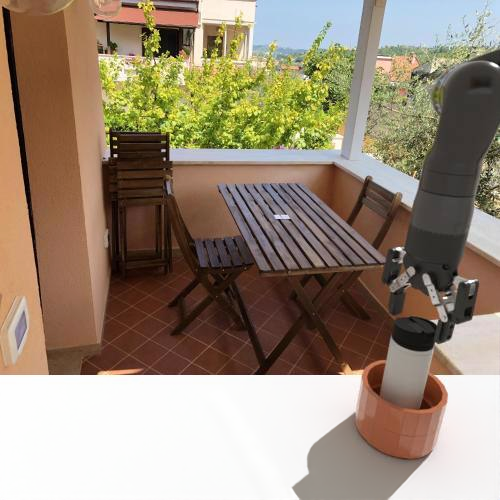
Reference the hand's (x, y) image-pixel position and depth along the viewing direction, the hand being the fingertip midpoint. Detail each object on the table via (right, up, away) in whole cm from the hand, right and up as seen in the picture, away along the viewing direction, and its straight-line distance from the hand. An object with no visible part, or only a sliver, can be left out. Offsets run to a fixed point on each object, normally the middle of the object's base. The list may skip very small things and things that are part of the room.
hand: (416, 327), depth 63 cm
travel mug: (-1, -18, +7) cm, 19 cm away
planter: (-1, -18, +7) cm, 19 cm away
